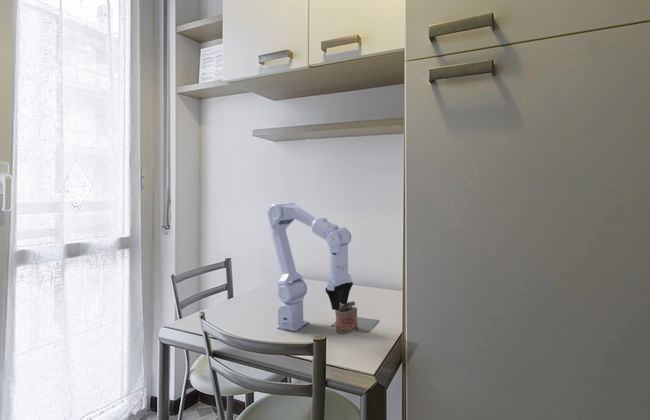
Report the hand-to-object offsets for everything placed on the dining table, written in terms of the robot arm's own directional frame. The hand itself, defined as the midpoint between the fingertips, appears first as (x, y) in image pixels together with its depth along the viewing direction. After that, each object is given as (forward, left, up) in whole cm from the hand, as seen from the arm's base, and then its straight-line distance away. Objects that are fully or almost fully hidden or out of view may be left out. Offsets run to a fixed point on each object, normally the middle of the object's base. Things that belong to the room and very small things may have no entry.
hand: (339, 306), depth 121 cm
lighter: (+6, 0, -10) cm, 12 cm away
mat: (+14, 0, -10) cm, 17 cm away
